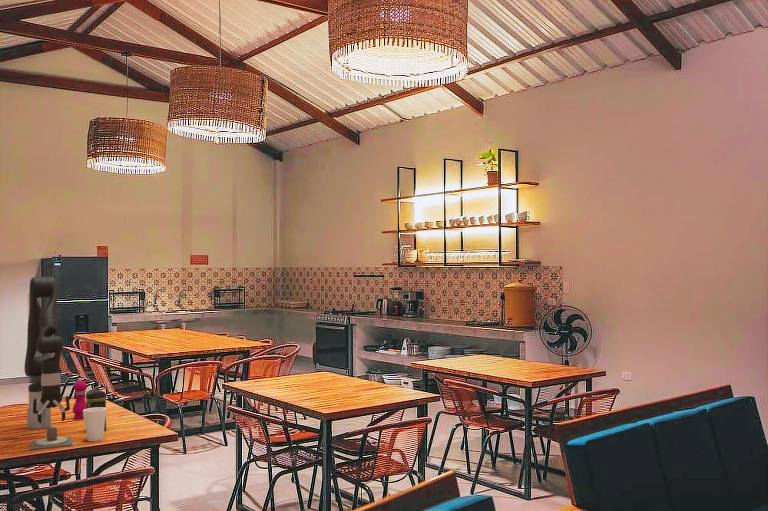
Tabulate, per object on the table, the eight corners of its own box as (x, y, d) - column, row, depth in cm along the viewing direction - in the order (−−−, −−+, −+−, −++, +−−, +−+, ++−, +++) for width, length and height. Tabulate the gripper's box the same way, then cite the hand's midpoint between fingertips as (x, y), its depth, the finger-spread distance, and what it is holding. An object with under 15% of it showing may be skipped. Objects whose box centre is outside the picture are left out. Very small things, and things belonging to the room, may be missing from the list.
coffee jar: (108, 430, 334) (107, 390, 334) (90, 433, 329) (89, 392, 329) (102, 427, 342) (101, 387, 342) (84, 429, 337) (84, 389, 337)
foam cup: (98, 442, 312) (97, 411, 312) (79, 441, 314) (78, 411, 314) (111, 437, 321) (110, 407, 321) (92, 436, 323) (91, 407, 323)
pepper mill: (75, 417, 366) (74, 377, 366) (90, 416, 367) (89, 376, 367) (70, 420, 359) (69, 379, 359) (85, 419, 360) (85, 378, 360)
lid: (31, 446, 305) (31, 431, 305) (43, 439, 317) (43, 425, 317) (60, 445, 305) (60, 430, 305) (71, 438, 317) (71, 424, 317)
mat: (30, 450, 301) (30, 448, 301) (31, 442, 315) (31, 440, 315) (72, 445, 307) (72, 444, 307) (72, 437, 322) (72, 436, 322)
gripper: (32, 386, 305) (32, 425, 305) (69, 383, 311) (70, 421, 310) (32, 384, 312) (33, 422, 312) (69, 381, 318) (70, 418, 317)
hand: (51, 421), depth 311 cm, fingers open, 8 cm apart
